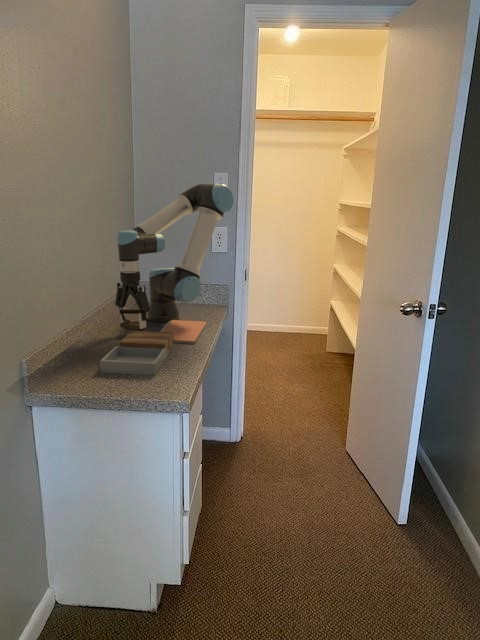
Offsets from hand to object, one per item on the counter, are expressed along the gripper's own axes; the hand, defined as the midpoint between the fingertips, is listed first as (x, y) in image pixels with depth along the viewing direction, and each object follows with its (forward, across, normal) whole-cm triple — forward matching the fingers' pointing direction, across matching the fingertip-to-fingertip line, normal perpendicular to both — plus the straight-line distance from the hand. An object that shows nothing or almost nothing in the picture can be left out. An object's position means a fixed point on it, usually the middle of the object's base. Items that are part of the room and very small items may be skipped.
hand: (133, 325), depth 181 cm
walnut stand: (+4, +17, -9) cm, 19 cm away
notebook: (+5, +12, +15) cm, 20 cm away
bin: (+4, +24, -22) cm, 33 cm away
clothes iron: (+1, -1, 0) cm, 1 cm away
